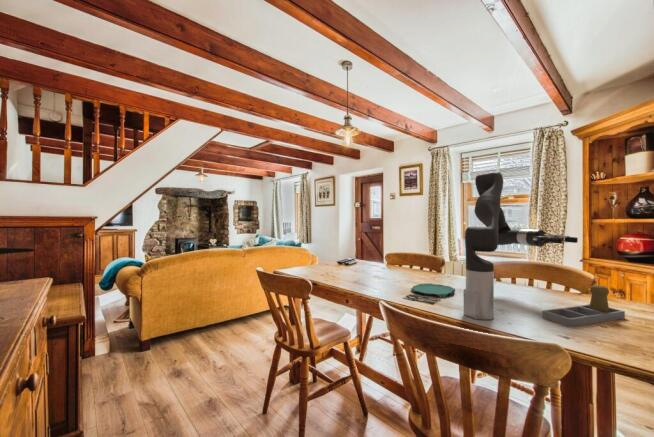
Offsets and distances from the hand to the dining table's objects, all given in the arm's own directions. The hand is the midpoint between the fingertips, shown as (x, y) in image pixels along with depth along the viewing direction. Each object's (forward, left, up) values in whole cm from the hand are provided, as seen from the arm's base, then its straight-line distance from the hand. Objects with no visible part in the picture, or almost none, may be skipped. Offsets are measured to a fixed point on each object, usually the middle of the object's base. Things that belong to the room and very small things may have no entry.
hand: (569, 240), depth 119 cm
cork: (0, -10, -27) cm, 29 cm away
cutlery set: (-42, +34, -28) cm, 61 cm away
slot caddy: (-9, -11, -27) cm, 30 cm away
